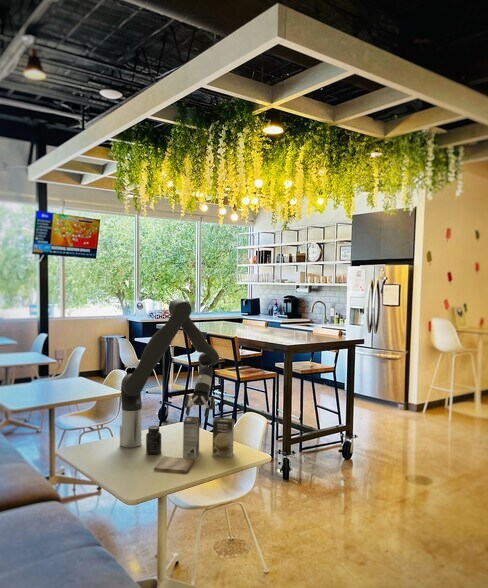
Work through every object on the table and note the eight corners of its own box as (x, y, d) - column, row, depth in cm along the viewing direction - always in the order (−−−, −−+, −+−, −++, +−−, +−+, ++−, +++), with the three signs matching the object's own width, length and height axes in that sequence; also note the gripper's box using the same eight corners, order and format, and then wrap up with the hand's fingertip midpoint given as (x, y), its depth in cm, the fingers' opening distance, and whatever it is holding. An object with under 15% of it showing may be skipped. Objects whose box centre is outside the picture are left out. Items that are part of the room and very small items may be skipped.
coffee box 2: (211, 456, 214) (212, 421, 214) (213, 451, 221) (214, 417, 220) (231, 457, 213) (232, 422, 213) (233, 452, 220) (234, 418, 219)
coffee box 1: (185, 450, 221) (186, 416, 220) (199, 451, 221) (200, 416, 220) (182, 458, 212) (182, 422, 211) (196, 458, 212) (197, 422, 211)
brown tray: (153, 470, 198) (154, 467, 198) (164, 458, 211) (164, 456, 211) (186, 473, 195) (186, 470, 195) (195, 461, 208) (195, 458, 208)
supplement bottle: (146, 450, 220) (147, 424, 220) (161, 450, 221) (162, 424, 220) (145, 456, 213) (145, 429, 213) (160, 455, 214) (160, 429, 214)
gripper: (187, 381, 233) (180, 410, 222) (215, 382, 231) (210, 412, 220) (190, 389, 239) (183, 418, 228) (218, 391, 236) (212, 420, 225)
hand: (196, 415), depth 224 cm, fingers open, 8 cm apart
